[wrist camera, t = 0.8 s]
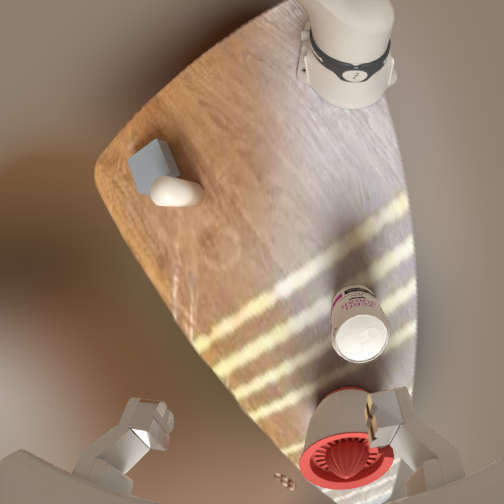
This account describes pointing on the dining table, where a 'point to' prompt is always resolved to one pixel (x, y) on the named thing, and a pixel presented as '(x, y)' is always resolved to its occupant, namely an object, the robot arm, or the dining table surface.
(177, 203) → the white pillar candle
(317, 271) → the dining table surface
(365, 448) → the citrus juicer
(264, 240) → the dining table surface
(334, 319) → the supplement can
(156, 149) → the plinth
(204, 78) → the dining table surface
